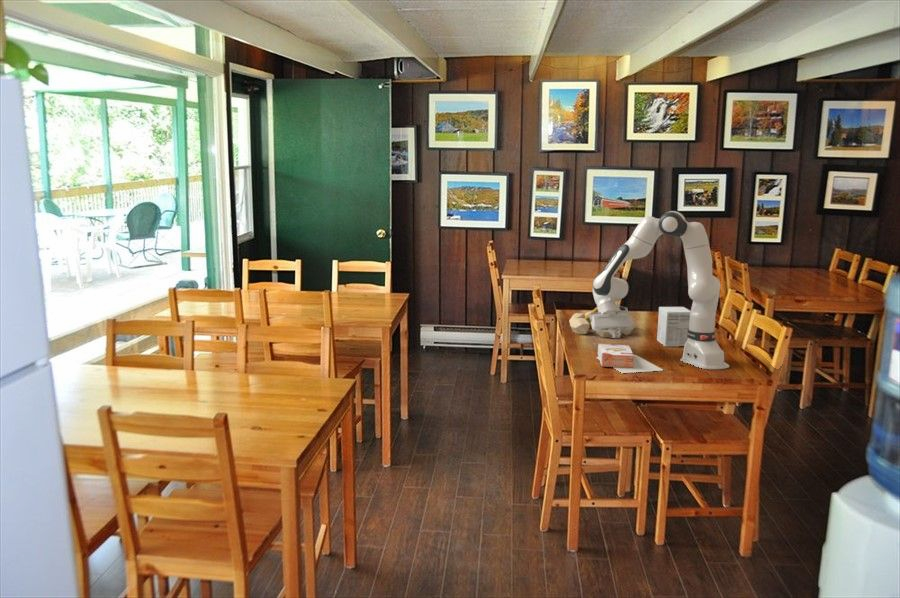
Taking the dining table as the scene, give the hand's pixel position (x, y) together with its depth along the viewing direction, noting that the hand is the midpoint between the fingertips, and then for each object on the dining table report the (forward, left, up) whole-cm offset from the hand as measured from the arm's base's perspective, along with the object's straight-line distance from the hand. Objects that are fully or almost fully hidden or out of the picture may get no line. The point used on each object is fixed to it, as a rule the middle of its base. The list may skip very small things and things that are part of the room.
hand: (616, 337), depth 355 cm
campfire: (+50, -16, -10) cm, 53 cm away
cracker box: (+1, +1, -6) cm, 6 cm away
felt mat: (-13, 0, -9) cm, 16 cm away
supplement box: (+17, -40, -10) cm, 44 cm away
